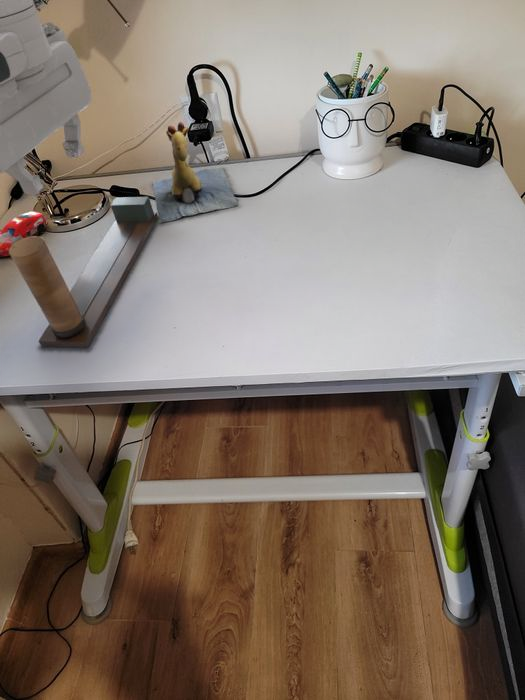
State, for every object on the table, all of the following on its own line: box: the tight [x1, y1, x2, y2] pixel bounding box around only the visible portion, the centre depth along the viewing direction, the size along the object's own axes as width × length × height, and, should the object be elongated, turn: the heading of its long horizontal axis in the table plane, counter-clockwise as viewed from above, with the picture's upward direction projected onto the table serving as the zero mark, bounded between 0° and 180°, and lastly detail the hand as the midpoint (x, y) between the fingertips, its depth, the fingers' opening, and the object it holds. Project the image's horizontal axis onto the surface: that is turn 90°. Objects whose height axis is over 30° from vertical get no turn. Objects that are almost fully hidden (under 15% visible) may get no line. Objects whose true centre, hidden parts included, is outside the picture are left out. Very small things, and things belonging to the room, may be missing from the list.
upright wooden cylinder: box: [9, 235, 86, 338], centre depth 74 cm, size 5×5×15 cm
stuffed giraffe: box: [152, 121, 239, 223], centre depth 103 cm, size 16×18×16 cm
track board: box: [37, 211, 159, 349], centre depth 91 cm, size 37×8×1 cm, turn 171°
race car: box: [0, 211, 49, 257], centre depth 101 cm, size 13×5×4 cm, turn 154°
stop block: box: [110, 196, 154, 222], centre depth 100 cm, size 3×7×5 cm, turn 81°
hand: (56, 172), depth 62 cm, fingers open, 8 cm apart
